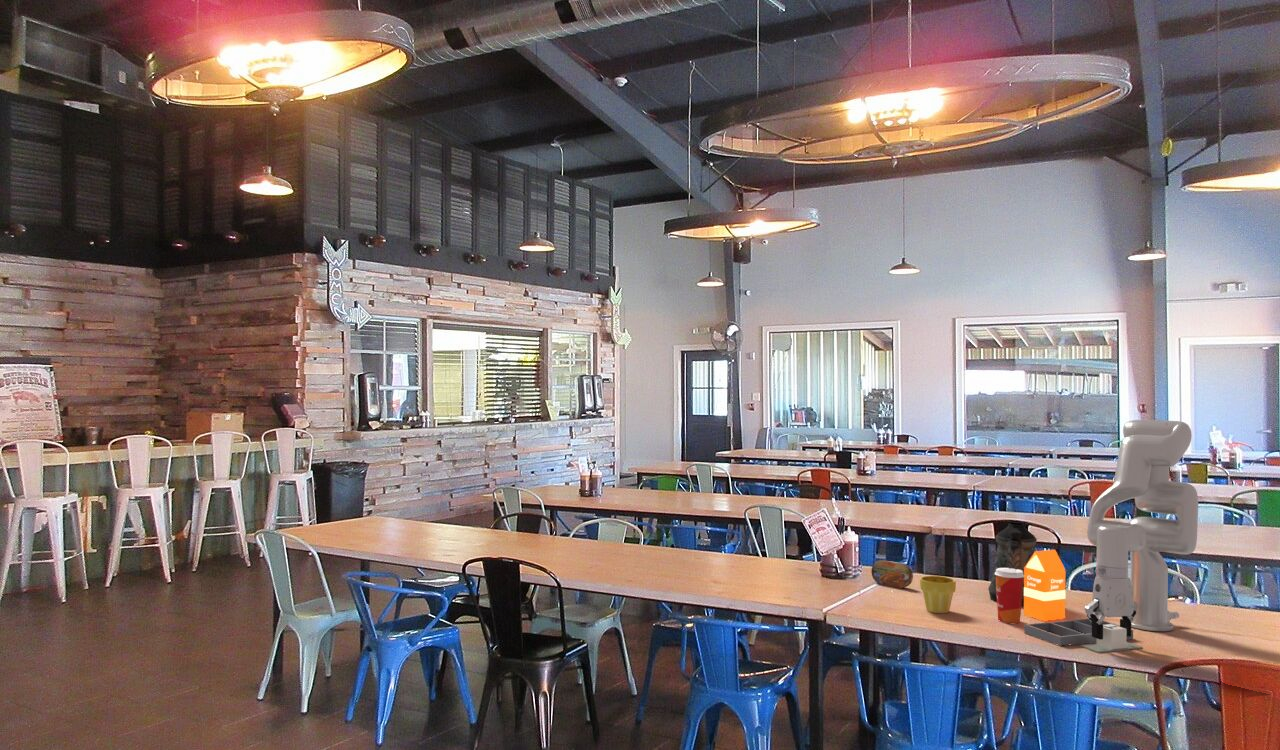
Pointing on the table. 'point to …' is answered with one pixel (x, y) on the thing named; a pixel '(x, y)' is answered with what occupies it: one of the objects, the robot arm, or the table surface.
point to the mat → (1102, 649)
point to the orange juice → (1044, 586)
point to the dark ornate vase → (1012, 552)
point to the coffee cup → (1009, 594)
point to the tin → (892, 573)
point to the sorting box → (1065, 631)
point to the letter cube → (1113, 637)
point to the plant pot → (937, 593)
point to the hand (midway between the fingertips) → (1111, 636)
